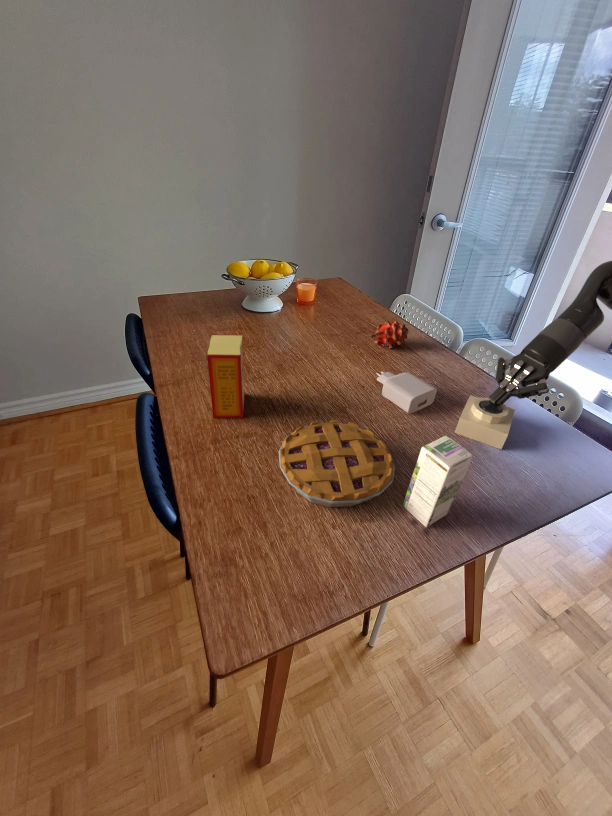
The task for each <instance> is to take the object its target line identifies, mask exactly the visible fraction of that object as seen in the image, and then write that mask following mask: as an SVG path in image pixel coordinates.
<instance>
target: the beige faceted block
mask: <svg viewBox="0 0 612 816" xmlns="http://www.w3.org/2000/svg"><path fill="white" fill-rule="evenodd" d="M485 400H489V397H483V396H481V397H479V396H475V395H472V394H470V395H469V397H468V399H467V401H466V404H465V405H464V408H463V410H462V412H461V414H460V417H459V419H458V422H457V424H456V427H455V429H454V434H456V435H459V436H462V437H465V438H467V439H471V440H473V441H476V442H479V443H481V444H484V445H487V446H490V447H492V448H496V449H498V450H502V449H503V448H504V445H505V444H506V441H507V438H508V436H509V433H510V430H511V426H512V422H513V419H514V416H515V413H516V409H515V408H514V407H513V408H512V407H510V406H506V405H505V403H504V404H503V405H501V408H502V410H501V412H500V413H499V414H492V413H489V412H486V411H484V410H483V409H481V408H480V404H481V402H482V401H485Z"/></svg>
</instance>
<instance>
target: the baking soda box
mask: <svg viewBox="0 0 612 816" xmlns="http://www.w3.org/2000/svg"><path fill="white" fill-rule="evenodd" d="M243 340H244V339H243V334H211V337H210V341H209V345H208V350H207V354H206V359H207V369H208V378H209V379H208V381H209V388H210V399H211V408H212V409H211V410H212V418H213V419H243V418H244V407H245V371H244V370H245V369H244V368H245V367H244V344H243V342H244V341H243Z"/></svg>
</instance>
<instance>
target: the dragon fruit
mask: <svg viewBox="0 0 612 816" xmlns="http://www.w3.org/2000/svg"><path fill="white" fill-rule="evenodd" d="M408 334H409V328H408V327H406V324H405V323H399V322H398V320H396V319H394V320H393V322H392V321H391V320H386V321H385V322H384V323H380V324H378V326H377V328H376V329H375V331H374V332H373V334H372V335H371V339H375V340H374V342H373V343H374V344H375V345H378V346H382V347H384V346H385V347H387V346H388V349H389V350H391V349H393V348H395V347H398V346H402V345H403V344H405V343H406V342H407V341H405V340H406V339H408Z"/></svg>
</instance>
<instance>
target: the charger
mask: <svg viewBox="0 0 612 816" xmlns="http://www.w3.org/2000/svg"><path fill="white" fill-rule="evenodd" d="M380 373H381V374H380ZM380 373H378V372H376V373H375V375H377V376H378V377H377V378H376V381H377V382H379V383H380V384H382V390H381V396H383V398H385V399H387V400H388V401H390V403H392V404H394V405H396V406H397V407H398V408H399V409H401V410H403V411H404V412H405V413H407V414H408V415H409V414H413V413H415V412H418V411H420V410H423V409H424V408H427V407H429V406H431V405H432V404H433V403H434V401H435V398H436V396H437V392H438V389H437V388H436V387H434V386H432V385H431V384H430V383H427V382H426V381H424V380H423V379H421V378H419V377H418V376H416V375H414V374H412V373H411V372H401V373H398V374H395V373H393V372H391V371H386V372H385V371H383V370H381V371H380Z"/></svg>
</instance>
